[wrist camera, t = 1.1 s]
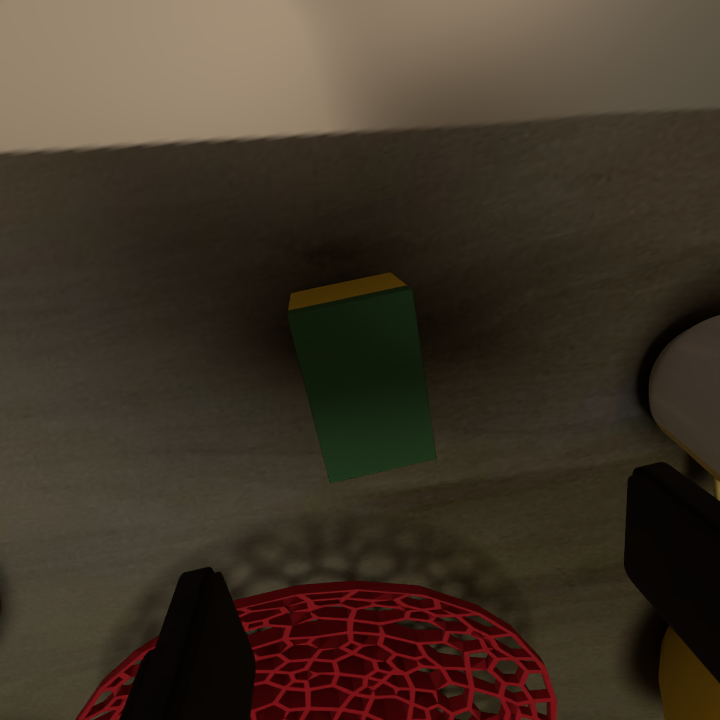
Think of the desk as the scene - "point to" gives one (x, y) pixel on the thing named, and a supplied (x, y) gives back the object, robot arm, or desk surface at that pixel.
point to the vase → (686, 683)
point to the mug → (691, 394)
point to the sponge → (363, 374)
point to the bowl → (365, 657)
